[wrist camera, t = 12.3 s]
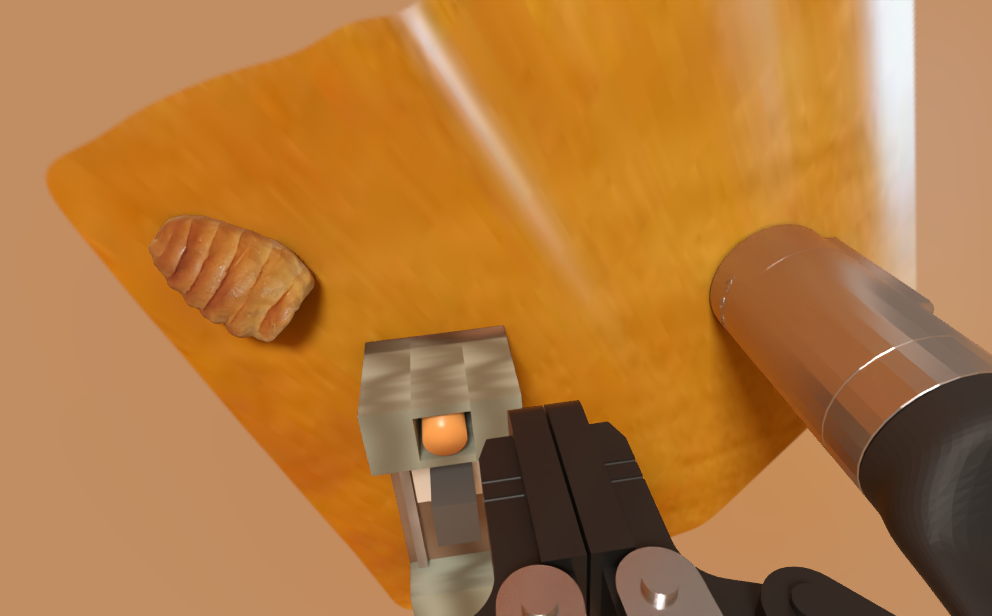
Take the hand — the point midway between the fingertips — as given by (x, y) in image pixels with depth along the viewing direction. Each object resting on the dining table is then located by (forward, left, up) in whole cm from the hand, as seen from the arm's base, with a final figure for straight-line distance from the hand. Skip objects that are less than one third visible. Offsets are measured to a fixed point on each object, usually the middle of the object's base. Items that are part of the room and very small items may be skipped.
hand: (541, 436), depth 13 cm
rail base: (+3, +29, -27) cm, 40 cm away
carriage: (+3, +25, -25) cm, 35 cm away
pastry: (+15, +9, -28) cm, 32 cm away
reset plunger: (+3, +17, -25) cm, 30 cm away
